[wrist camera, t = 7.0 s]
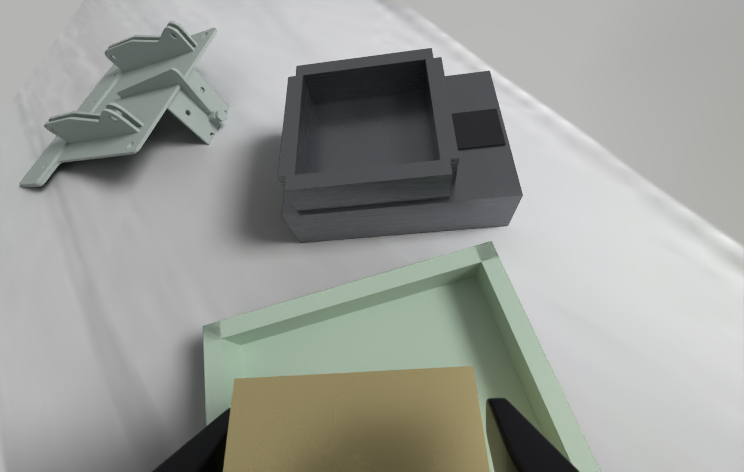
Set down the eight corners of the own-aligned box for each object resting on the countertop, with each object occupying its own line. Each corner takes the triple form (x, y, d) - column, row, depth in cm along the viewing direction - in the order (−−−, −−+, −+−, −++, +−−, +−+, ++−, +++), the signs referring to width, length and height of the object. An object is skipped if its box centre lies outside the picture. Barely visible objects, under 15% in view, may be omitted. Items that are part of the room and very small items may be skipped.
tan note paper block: (458, 522, 12) (534, 751, 4) (334, 523, 13) (190, 735, 5) (441, 385, 14) (473, 365, 6) (335, 390, 15) (234, 378, 7)
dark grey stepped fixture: (507, 225, 19) (535, 168, 14) (300, 242, 20) (265, 195, 15) (481, 110, 22) (496, 37, 18) (307, 130, 23) (281, 66, 19)
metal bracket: (218, -22, 23) (88, 157, 17) (272, 55, 28) (185, 218, 22) (103, 29, 30) (-19, 171, 24) (162, 84, 34) (73, 215, 28)
